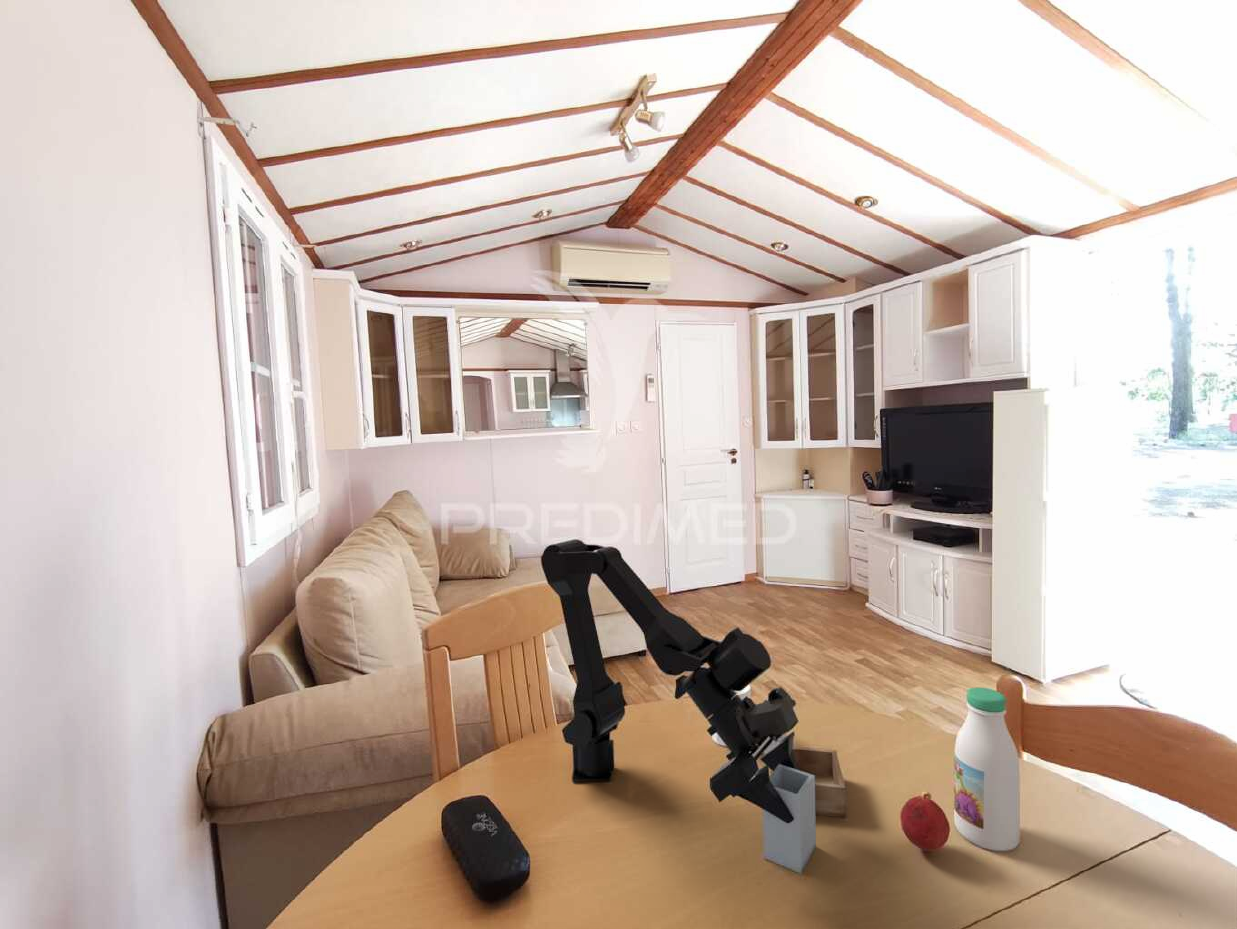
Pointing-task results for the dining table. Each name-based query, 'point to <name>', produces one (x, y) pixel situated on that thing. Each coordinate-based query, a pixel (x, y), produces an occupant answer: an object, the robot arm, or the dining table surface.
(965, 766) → the milk bottle
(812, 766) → the big crate
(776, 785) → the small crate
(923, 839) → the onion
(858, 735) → the dining table surface
